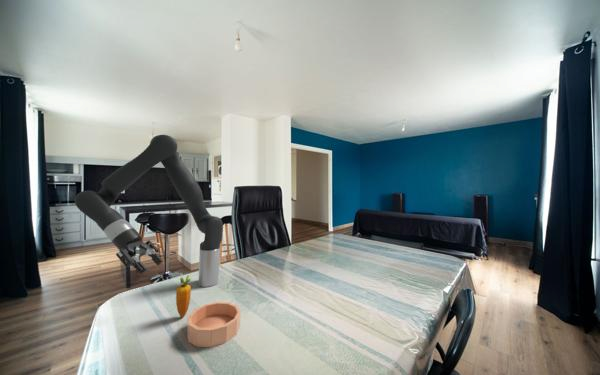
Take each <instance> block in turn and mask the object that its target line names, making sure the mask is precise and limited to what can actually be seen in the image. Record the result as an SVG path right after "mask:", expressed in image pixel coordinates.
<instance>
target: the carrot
mask: <svg viewBox="0 0 600 375" xmlns="http://www.w3.org/2000/svg"><path fill="white" fill-rule="evenodd" d="M190 281H192V279H191V278H190V275H186V279H185V280H184V277H183V276H181V277H180V283H181V285H179V286H177V288H176V294H175V295H176V296H175V304H176V308H177V309H176V310H177V312H178V315H179V317H180V318H184V317H185V316H186V314H187V313H188V312H187V311H188V310H189V306H190V301H191V292H192V289H191V284H188V283H189V282H190Z"/></svg>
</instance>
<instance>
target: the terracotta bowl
mask: <svg viewBox="0 0 600 375" xmlns="http://www.w3.org/2000/svg"><path fill="white" fill-rule="evenodd" d="M241 312H242V311H241V310H240V308H239V306H238V305H236V304H234V303H232V302H230V301H228V302H225V301H222V302H221V301H217V302H211V303H207V304H204V305H202V306H200V307H198V308H196V309H194V310H193V311H192V312H191V313H190V314H189V315H188V317H187V326H186V327H187V328H186V329H187V332H186V336H187V337H186V338H187V342H188V343H190V344H192V345H193V346H195V347H199V348H212V347H216V346H219V345H222V344H226V343H227V342H229V341H231V339H233V338H234V337H235V336H237V334H238V332H239V330H240V327H241V314H242V313H241Z"/></svg>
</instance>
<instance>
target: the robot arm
mask: <svg viewBox="0 0 600 375" xmlns="http://www.w3.org/2000/svg"><path fill="white" fill-rule="evenodd" d="M151 138H152V139H151V140H150V142H149V145H148V146H147V147H146V148H145V149H144V150H142V152H141V153H140V154H138V155H137V156H136V157H134V158H133V159H131V160H129V161H128V162H127V163H125V164H123V165H122V166H121V167H119V168H117V169H116V170H115V171H113V172H112V173H111V174H110V175H109V174H108V176H106V177H105V178H104V179H103V180H102V182H101V185H102V188H101V189H100V190H99V191H98V192H97V191H93V190H83V191H81V192H78V193H77V194H76V196H75V198H74V204H75V206H76V207H77V209H78V210H79V211H81V213H83V214H84V215H85V216H86V217H88V218H89V219H90V220H92V221H93V222H94V223H96V225H97V226H98V227H99V228H100V229H101V231H103V233H104V234H105V235H106V237H107V239H109V241H110V242H111V243H112V244H113V245H114V247H115V248H116V249H117V250H118V251H117V253H116V254H115V256H116V257H117V259H119V261H120V262H121V263H122V264H123V266H124V267H126V268H129V267H133V268H134V270H136V272H138V273H139V274H141V275H143V274H144V273H145V272H146V271H147V270H148V269H147V267H146V266H145V265H144V264H143V263H142V262H141V261H140V257H148V258H150V259H151V260H152V261H153V262H154V264H155V265H156V266H160V265H161V264H162V263H163V262H164V260H162V258H161V257H160V256H159V255H158V253H159V252H160V249H159V248H158V247H157V246H156V245H155V244H154V243H153V242H152V241H151V240H150V239H148V240H146V242H144V241H142V238H143V237H142V235H141V234H140V233H139V232H138V231H137V230H136V229H135V228H134V226H133V225H132V224H131V223H130V222H128V221H127V220H126V219H125V218H124V217H123V215H121V213H120V212H119V211H118V210H116V209H114V208H112V207H111V206H112V205H113V204H114V203H115V201H116V200H117V199H118V197H119V196H120V195H121V194H122V193H123V192H124V191H125V190H126V189H128V188H129V187H130V186H131V185H133V184H134V183H135V182H136V181H137V180H139V179H140V178H141V177H143V175H145V173H147V172H148V171H149V170H150V169H152V168H153V167H155V166H156V165H157V164H160V163H161V165H162V166H163V167H164V169H165V171H166V172H167V175H168V177H169V179H170V181H171V183H172V185H173V187H174V188H175V190H176V192H177V195H179V197H180V199H181V200H182V202H183V204H185V207H186V208H187V210H188V211H189V213H190V214H191V215H192V218H193V220H194V223H195V224H196V226H197V228H198V230H199V231H200V233H202V234H204V239H203V241H202V242H200V243H199V256H198V257H199V258H198V259H199V260H198V261H199V262H198V263H199V264H198V279H197V280H198V281H197V282H198V283H197V285H198V286H199V287H203V288H207V287H213V286H216V285H217V284H218V283H219V274H220V254H221V253H220V250H221V243H222V241H223V232H224V231H223V230H224V229H223V228H224V225H223V221H222V219H221V218H220V217H219V216H215V215H211V214H210V212H209V211H208V209H207V208H206V205H205V202H204V195H203V191H202V189H201V187H200V185H199V183H198V181H197V180H196V178H195V176H194V175H193V174H192V173H191V171H190V170H189V169H188V168H187V166H185V164H184V163H183V161H182V159H181V157H180V155H179V154H178V151H177V150H178V144H177V141H176V139H175V138H173V137H172V136H170V135H167V134H158V135H155V136H153V137H151Z"/></svg>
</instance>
